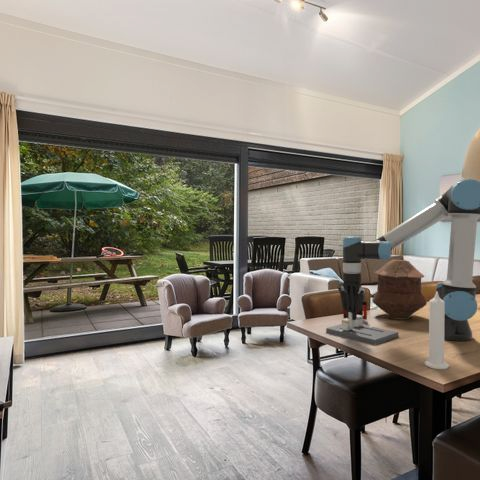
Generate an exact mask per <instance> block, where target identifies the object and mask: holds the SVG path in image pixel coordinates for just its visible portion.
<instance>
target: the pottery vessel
mask: <svg viewBox="0 0 480 480" xmlns="http://www.w3.org/2000/svg"><path fill="white" fill-rule="evenodd" d="M374 274H375V275H377V291H376V292H375V294H374V296H373V298H372V300H371V301H372V303H373V304H374V305H375V306H376V307H378V308H379V309H380V310H382V311H383V312H384V313H385V314H387V316H388V317H389V318H391V319H394V318H395V320H407V319H410V317H411V316H412V315H413V314H414V313H416V312H418V311H419V310H420V309H423V308H424V307H425V306H427V299H426V298H425V296H424V295H423V294H422V279H423V278H425V275H424V274H423V273H422V272H420V270H419V269H418V268H416V267H415V266H414V265H413V264H412V263H411V262H410V261H409V260H406V259H405V260H404V259H391V260H390V261H387V262H386V263H385V264H384V265H383V266H381V268H379V269H377V270H376V271H374Z"/></svg>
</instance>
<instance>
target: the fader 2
mask: <svg viewBox="0 0 480 480" xmlns="http://www.w3.org/2000/svg"><path fill="white" fill-rule="evenodd" d="M363 316H364V315H363ZM363 316H361V315H357V319H356V320H355V326H356V327H359V326H363V325H364V319H363Z"/></svg>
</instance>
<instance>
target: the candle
mask: <svg viewBox="0 0 480 480" xmlns="http://www.w3.org/2000/svg"><path fill="white" fill-rule="evenodd" d="M428 303H429V304H428V305H429V307H428V309H429V310H428V311H429V313H428V314H429V316H428V318H429V319H428V320H429V321H428V327H429V328H428V334H429V335H428V359H427V360H425V361H424V365H425V367H428V368H431V369H433V370H448V369H449V368H450V366H449V364H448V363H447V362H445V339H444V317H445V302H444V301H443V300H442V299H440V297H439V295H438V291H435V294H434V297H433V298H431V299H430V300H429V302H428Z"/></svg>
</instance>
